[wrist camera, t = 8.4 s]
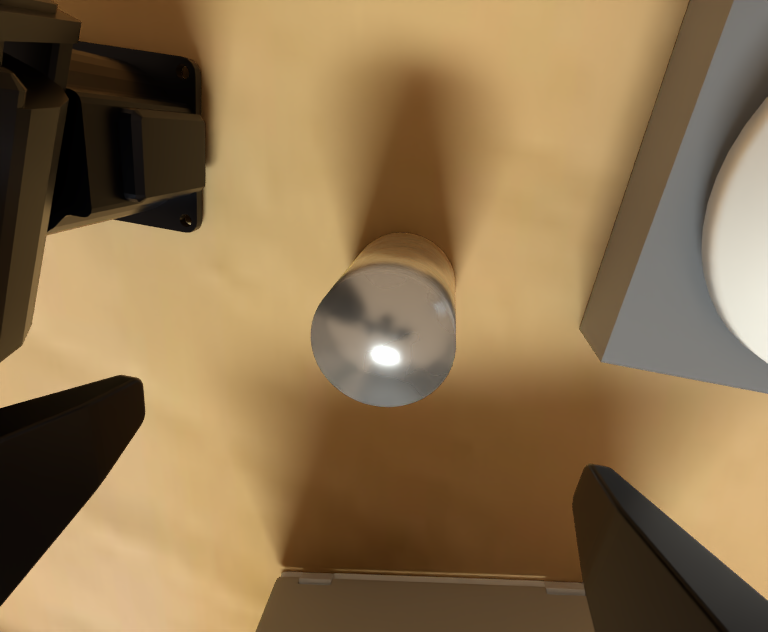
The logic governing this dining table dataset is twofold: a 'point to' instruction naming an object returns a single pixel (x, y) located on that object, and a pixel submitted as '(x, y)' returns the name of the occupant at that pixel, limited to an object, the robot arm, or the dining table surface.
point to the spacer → (389, 323)
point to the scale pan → (741, 237)
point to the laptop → (422, 604)
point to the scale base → (682, 207)
